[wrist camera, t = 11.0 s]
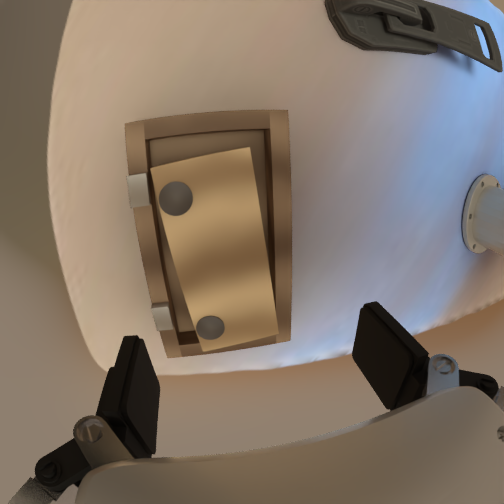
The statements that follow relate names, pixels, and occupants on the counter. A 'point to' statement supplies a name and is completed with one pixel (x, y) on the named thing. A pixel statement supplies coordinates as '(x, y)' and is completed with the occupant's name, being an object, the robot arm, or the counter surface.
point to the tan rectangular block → (218, 245)
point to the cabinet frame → (269, 195)
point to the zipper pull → (411, 28)
